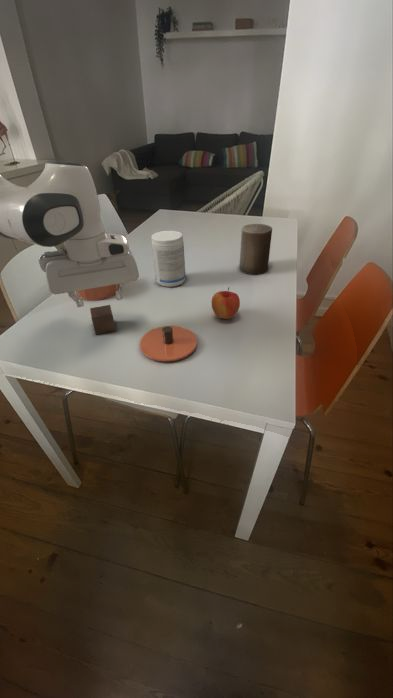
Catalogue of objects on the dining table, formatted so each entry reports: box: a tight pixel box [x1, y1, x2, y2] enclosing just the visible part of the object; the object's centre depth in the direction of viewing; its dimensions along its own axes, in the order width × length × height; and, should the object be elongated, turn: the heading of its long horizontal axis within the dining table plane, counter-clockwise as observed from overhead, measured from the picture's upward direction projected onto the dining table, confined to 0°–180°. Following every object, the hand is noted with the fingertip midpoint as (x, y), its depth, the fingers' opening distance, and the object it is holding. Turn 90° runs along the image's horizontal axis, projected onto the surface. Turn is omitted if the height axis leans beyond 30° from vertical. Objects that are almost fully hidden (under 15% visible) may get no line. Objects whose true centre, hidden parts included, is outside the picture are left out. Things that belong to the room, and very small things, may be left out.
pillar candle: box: [239, 223, 273, 275], centre depth 104 cm, size 10×10×15 cm
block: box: [89, 304, 117, 336], centre depth 80 cm, size 5×5×5 cm
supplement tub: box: [150, 230, 186, 288], centre depth 98 cm, size 10×10×15 cm
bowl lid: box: [139, 325, 198, 362], centre depth 74 cm, size 13×13×5 cm
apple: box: [210, 286, 241, 320], centre depth 82 cm, size 7×7×8 cm
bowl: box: [75, 284, 119, 301], centre depth 96 cm, size 12×12×8 cm
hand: (100, 302), depth 77 cm, fingers open, 8 cm apart
